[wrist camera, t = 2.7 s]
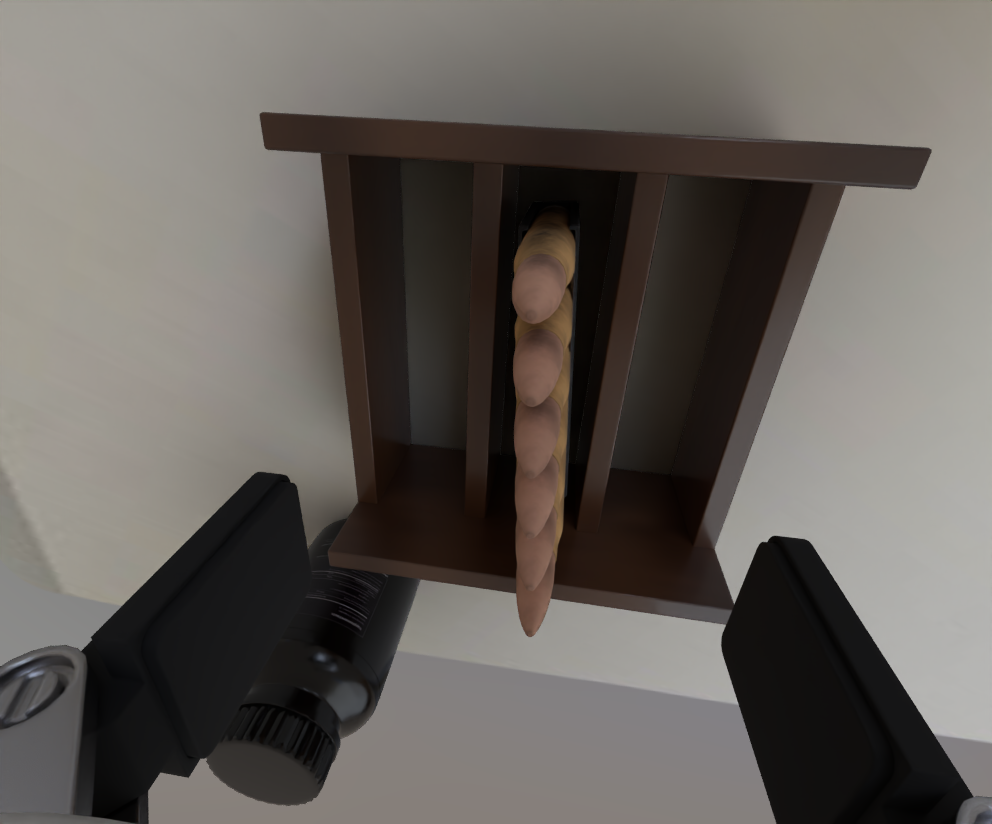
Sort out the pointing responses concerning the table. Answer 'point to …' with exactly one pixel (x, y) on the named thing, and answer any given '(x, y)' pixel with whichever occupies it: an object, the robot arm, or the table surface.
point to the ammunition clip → (543, 394)
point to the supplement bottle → (315, 681)
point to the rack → (591, 482)
